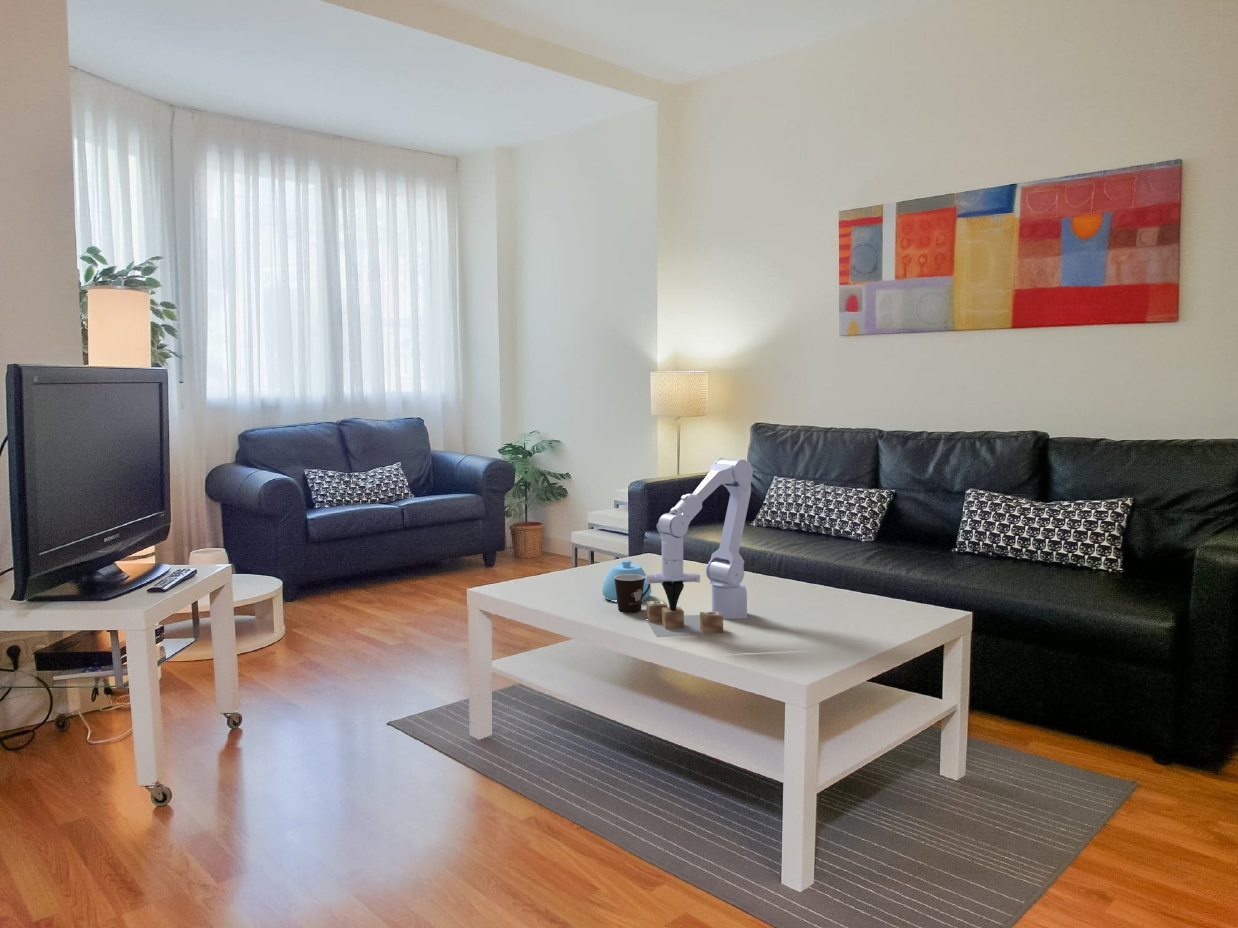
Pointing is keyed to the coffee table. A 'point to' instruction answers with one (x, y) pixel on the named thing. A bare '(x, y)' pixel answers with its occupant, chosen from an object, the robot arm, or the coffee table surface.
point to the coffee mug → (630, 592)
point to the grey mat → (689, 628)
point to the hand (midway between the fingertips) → (672, 609)
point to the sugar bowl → (623, 569)
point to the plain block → (672, 618)
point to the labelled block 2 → (711, 622)
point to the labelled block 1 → (655, 610)
